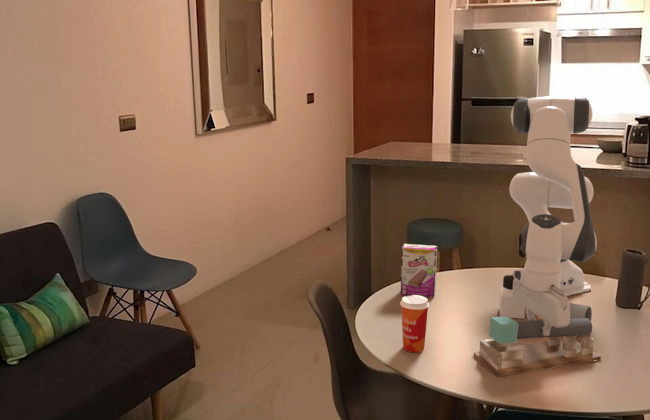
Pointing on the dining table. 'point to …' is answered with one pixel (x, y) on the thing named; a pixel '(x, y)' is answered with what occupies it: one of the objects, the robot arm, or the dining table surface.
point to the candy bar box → (418, 270)
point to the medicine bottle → (509, 300)
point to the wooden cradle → (534, 355)
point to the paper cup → (414, 322)
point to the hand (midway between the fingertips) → (538, 330)
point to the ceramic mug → (580, 311)
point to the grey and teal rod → (533, 329)
